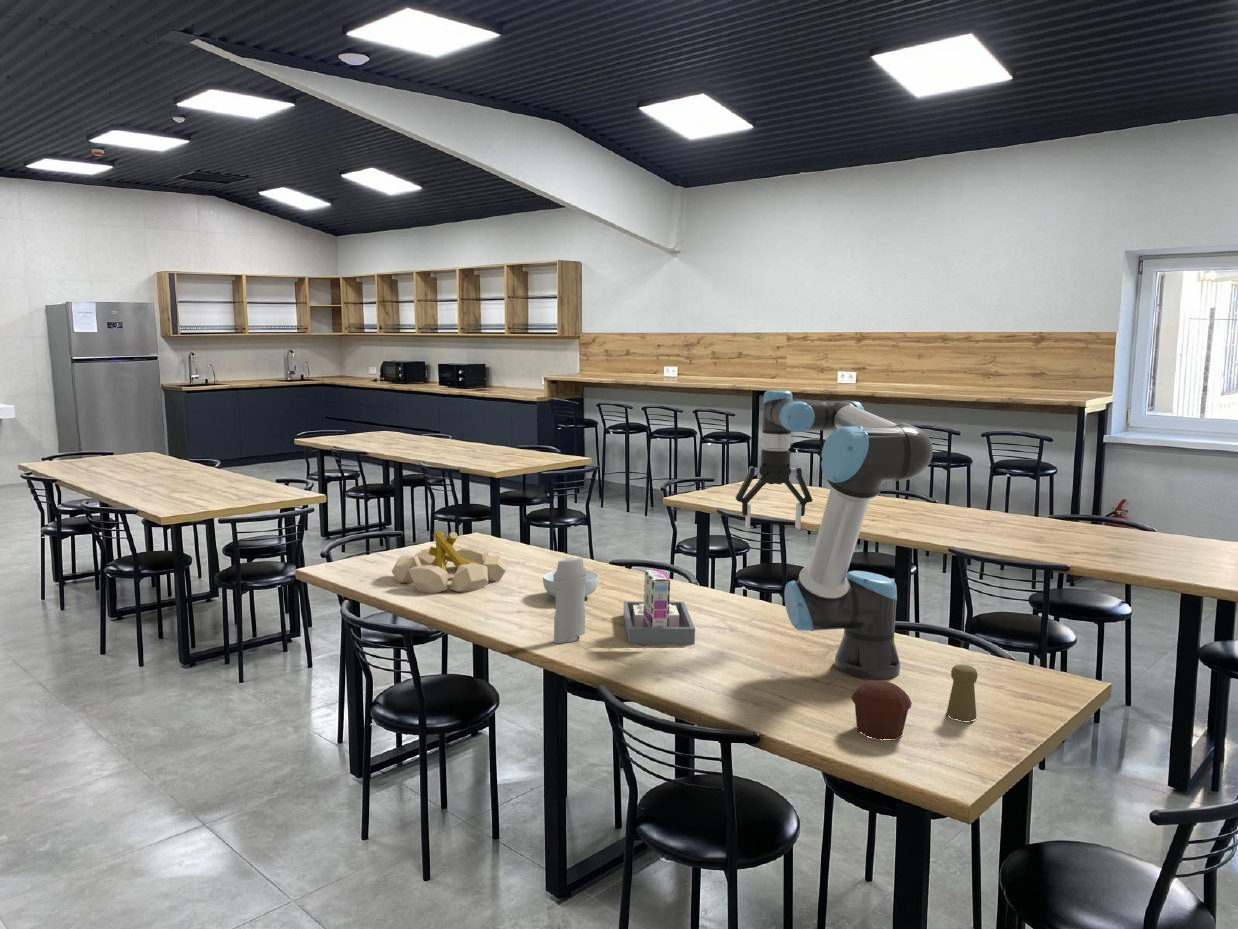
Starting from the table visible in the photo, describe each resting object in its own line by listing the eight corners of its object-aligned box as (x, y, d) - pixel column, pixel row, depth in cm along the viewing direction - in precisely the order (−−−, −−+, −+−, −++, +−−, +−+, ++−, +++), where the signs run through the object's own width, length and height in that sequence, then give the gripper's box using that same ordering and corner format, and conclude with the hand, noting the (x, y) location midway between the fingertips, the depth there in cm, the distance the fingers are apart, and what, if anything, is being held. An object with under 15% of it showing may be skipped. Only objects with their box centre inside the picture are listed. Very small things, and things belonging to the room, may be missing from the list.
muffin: (851, 740, 175) (854, 692, 173) (846, 717, 185) (849, 672, 184) (914, 746, 173) (917, 697, 171) (905, 722, 184) (908, 676, 182)
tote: (694, 647, 227) (695, 628, 226) (628, 647, 226) (628, 628, 225) (683, 618, 251) (683, 601, 250) (623, 618, 250) (623, 601, 249)
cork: (969, 710, 190) (972, 661, 189) (981, 722, 184) (985, 671, 183) (941, 710, 190) (944, 661, 188) (953, 722, 184) (956, 671, 182)
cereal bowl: (588, 588, 281) (588, 566, 280) (606, 602, 265) (606, 579, 264) (536, 592, 275) (536, 570, 274) (551, 607, 259) (552, 584, 258)
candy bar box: (669, 641, 228) (671, 579, 226) (650, 642, 227) (651, 580, 225) (660, 628, 239) (662, 568, 237) (642, 628, 238) (643, 569, 236)
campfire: (377, 577, 290) (376, 526, 288) (466, 562, 312) (465, 514, 310) (432, 601, 264) (431, 545, 262) (524, 582, 287) (524, 531, 284)
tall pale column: (557, 646, 226) (558, 562, 223) (548, 641, 230) (549, 558, 227) (590, 637, 233) (591, 556, 230) (581, 633, 236) (582, 553, 233)
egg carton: (679, 627, 240) (679, 611, 239) (634, 627, 239) (635, 611, 238) (675, 617, 248) (675, 601, 248) (632, 617, 248) (633, 601, 247)
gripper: (818, 447, 239) (814, 525, 241) (726, 446, 237) (724, 524, 240) (826, 451, 231) (822, 530, 234) (731, 450, 230) (728, 530, 233)
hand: (772, 527), depth 237 cm, fingers open, 13 cm apart
